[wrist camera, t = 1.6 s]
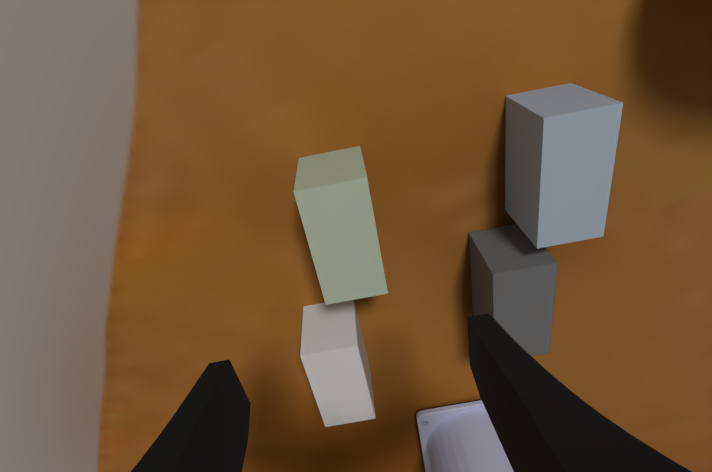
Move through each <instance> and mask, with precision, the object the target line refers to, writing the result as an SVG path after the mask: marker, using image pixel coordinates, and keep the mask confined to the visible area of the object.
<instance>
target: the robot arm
mask: <svg viewBox="0 0 712 472" xmlns="http://www.w3.org/2000/svg"><path fill="white" fill-rule="evenodd" d="M468 335H469V353H470V366H471V369H472V372H473V376H474V379H475V382H476V385H477V388H478V391H479V394H480V397H481V400H479V401H473V402H467V403H461V404H456V405H450V406H444V407H438V408H432V409H426V410H421V411H419V412H418V413H417V414H416V418H417V424H418V430H419V436H420V442H421V448H422V454H423V460H424V466H425V472H691V471H690V470H688V469H686V468H684V467H682V466H681V465H679V464H677V463H675V462H674V461H672V460H670V459H669V458H667V457H666V456H664V455H662V454H661V453H659V452H658V451H656V450H654V449H653V448H651V447H650V446H648V445H646V444H645V443H643V442H642V441H640V440H638V439H637V438H635V437H634V436H632V435H630V434H629V433H627V432H626V431H625V430H623V429H622V428H620V427H619V426H617V425H616V424H614V423H613V422H612V421H610V420H609V419H607V418H606V417H604V416H603V415H602V414H600V413H599V412H598V411H596V410H595V409H593V408H592V407H591V406H589V405H588V404H587V403H585V402H584V401H583V400H582V399H580V398H579V397H578V396H577V395H575V394H574V393H573V392H571V391H570V390H569V389H568V388H567V387H565V386H564V385H563V384H562V383H561V382H559V381H558V380H557V379H556V378H555V377H554V376H552V375H551V374H550V373H549V372H548V371H547V370H546V369H544V368H543V367H542V366H541V365H540V364H539V363H538V362H537V361H536V360H535V359H534V358H533V357H531V356H530V355H529V354H528V353H527V352H526V351H525V350H524V349H523V348H522V347H521V346H520V345H519V344H518V343H517V342H516V341H515V340H514V339H513V338H512V337H511V336H510V335H509V334H508V333H507V332H506V331H505V330H504V329H503V327H502V326H501V325H500V324H499V323H498V322H497V321H496V320H495V319H494V318H493V316H491V315H490V314H482V315H476V316H471V317H468ZM249 418H250V402H249V400H248V398H247V395H246V393H245V391H244V389H243V387H242V385H241V383H240V381H239V379H238V377H237V375H236V373H235V371H234V368H233V366H232V364H231V362H230V360H225V361H220V362H214V363H210V364H209V365H208V366H207V368H206V369H205V371H204V372H203V373H202V375H201V376H200V378H199V379H198V381H197V382H196V384H195V385H194V387H193V388H192V390H191V391H190V393H189V394H188V395H187V397H186V398H185V400H184V401H183V403H182V404H181V406H180V407H179V409H178V410H177V411H176V413H175V414H174V416H173V417H172V418H171V420H170V421H169V423H168V424H167V425H166V427H165V428H164V430H163V431H162V432H161V434H160V435H159V436H158V438H157V439H156V440H155V442H154V443H153V444H152V446H151V447H150V448H149V449H148V451H147V452H146V453H145V455H144V456H143V457H142V459H141V460H140V461H139V462H138V464H137V465H136V466H135V467H134V469H133V470H132V471H131V472H242V467H243V462H244V457H245V451H246V446H247V440H248V431H249Z"/></svg>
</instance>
